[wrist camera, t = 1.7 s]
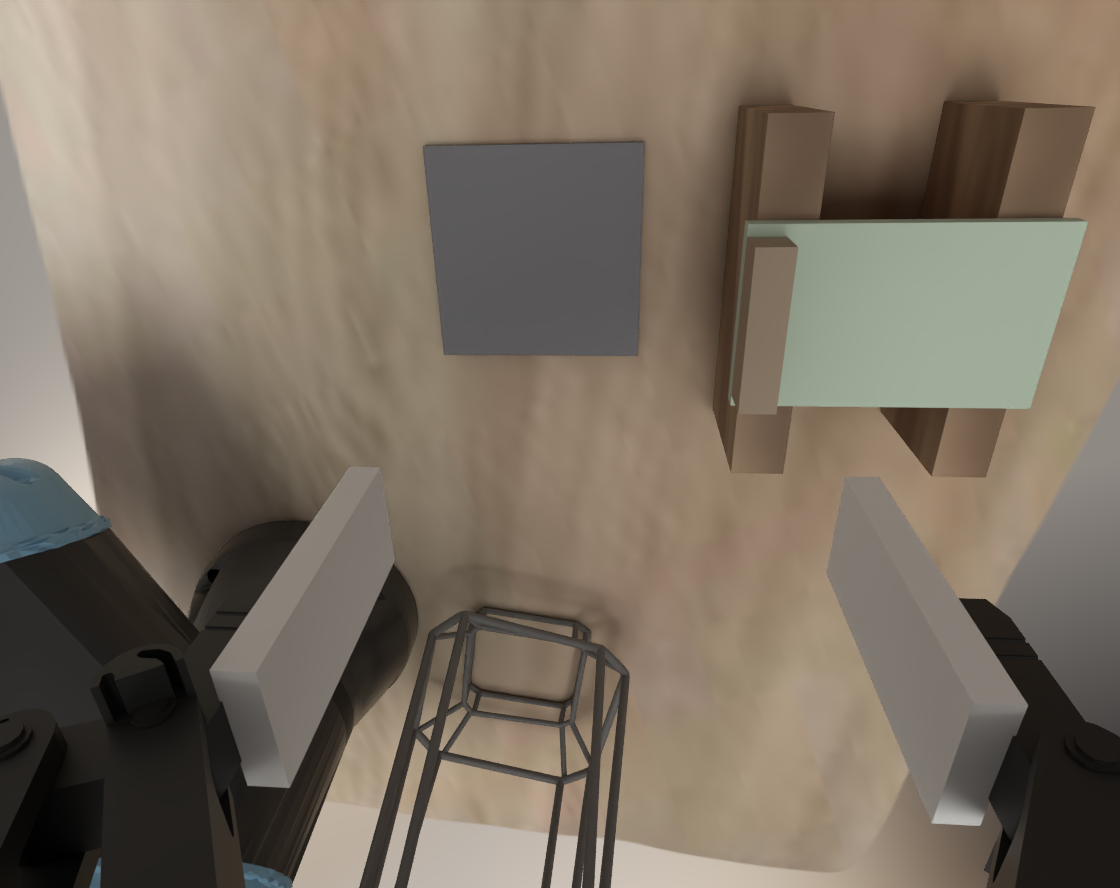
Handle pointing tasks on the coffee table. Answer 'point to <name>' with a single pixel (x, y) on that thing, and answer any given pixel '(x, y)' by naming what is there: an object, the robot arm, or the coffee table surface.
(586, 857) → the geometric lantern
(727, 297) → the brown parallel walls
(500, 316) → the mat
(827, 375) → the cover
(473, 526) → the coffee table surface
